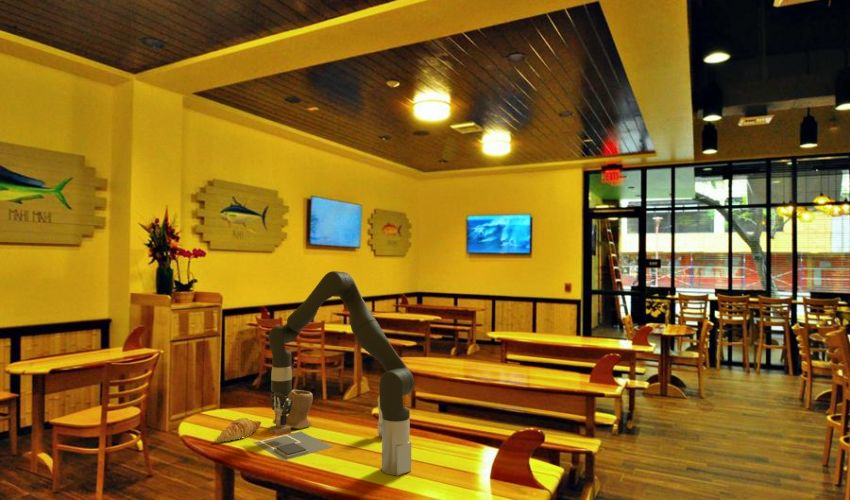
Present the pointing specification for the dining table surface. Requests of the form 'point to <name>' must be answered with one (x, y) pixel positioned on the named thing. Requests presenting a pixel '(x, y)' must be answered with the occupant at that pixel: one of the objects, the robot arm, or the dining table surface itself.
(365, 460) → the dining table surface
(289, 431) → the stamp
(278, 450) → the desk board
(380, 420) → the plastic bottle
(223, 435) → the croissant
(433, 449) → the dining table surface
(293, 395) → the tan boot
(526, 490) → the dining table surface
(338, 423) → the dining table surface
